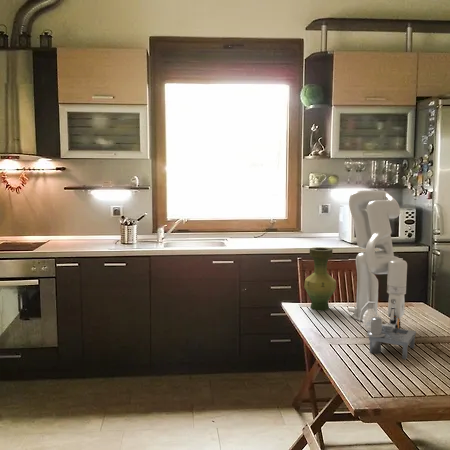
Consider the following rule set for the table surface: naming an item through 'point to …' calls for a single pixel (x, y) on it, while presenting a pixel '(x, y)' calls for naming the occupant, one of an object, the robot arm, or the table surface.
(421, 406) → the table surface
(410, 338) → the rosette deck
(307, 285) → the vase
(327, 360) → the table surface
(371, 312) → the hand grenade
